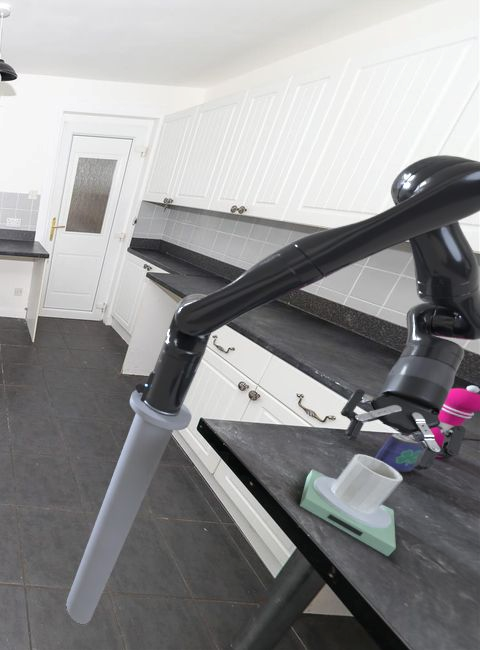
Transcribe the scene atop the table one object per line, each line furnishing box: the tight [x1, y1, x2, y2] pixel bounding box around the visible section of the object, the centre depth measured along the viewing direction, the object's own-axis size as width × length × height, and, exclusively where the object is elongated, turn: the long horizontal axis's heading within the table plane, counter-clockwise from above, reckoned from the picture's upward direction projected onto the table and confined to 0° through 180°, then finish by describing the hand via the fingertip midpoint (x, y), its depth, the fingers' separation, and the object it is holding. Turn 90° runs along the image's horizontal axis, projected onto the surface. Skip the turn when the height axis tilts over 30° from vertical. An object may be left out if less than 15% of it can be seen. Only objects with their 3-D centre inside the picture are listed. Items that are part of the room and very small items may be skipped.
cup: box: [331, 453, 404, 514], centre depth 64 cm, size 6×6×9 cm
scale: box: [299, 469, 397, 557], centre depth 66 cm, size 12×12×3 cm
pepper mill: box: [430, 385, 480, 458], centre depth 84 cm, size 7×7×20 cm
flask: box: [374, 433, 423, 473], centre depth 78 cm, size 9×3×11 cm, turn 89°
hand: (383, 453), depth 63 cm, fingers open, 8 cm apart
